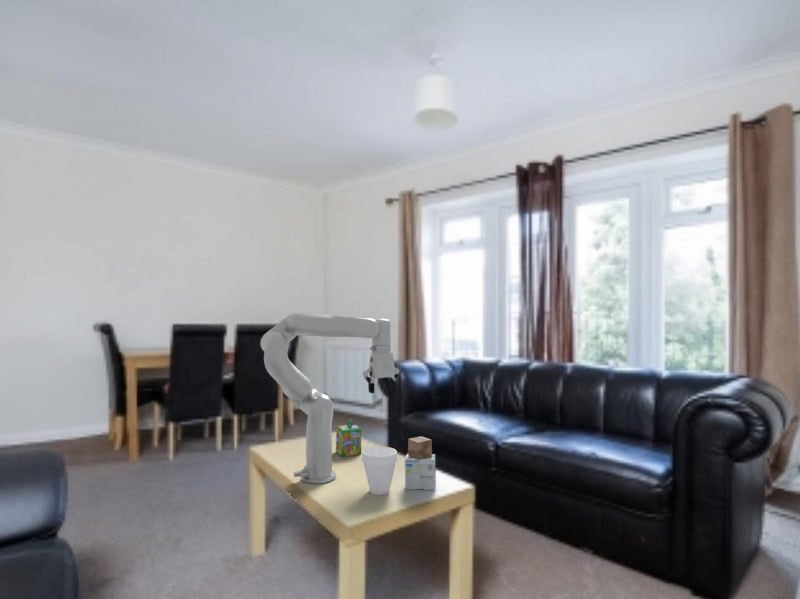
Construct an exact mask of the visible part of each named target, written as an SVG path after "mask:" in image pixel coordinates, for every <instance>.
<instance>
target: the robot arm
mask: <svg viewBox="0 0 800 599" xmlns="http://www.w3.org/2000/svg"><path fill="white" fill-rule="evenodd" d="M297 336H305V337H306V336H307V337H324V338H325V337H327V338H347V337H348V338H360V339H361V338H363V339H364V338H365V339H366V338H367V339H371V346H370V347H369V350H370V351H371V352H370V357H369V365H368V368H367V369H365V370H364V371H363V372H362V376H363V377H364V380H366V382H367V383H368V385H367V386H368V393H370V394H375V383H374V381H375V380H376V379H384V378H388V379H389V380H388V391H392V392H394V391H395V382H396V380H397V378H398V376H399V373H400V369H399V368H397V367H395V366H396V365H395V358H394V354H393V352H392V351H391V350H392V349H391V347H392V346H391V343H392V342H391V339H392V338H391V321H390V319H387V318H376V319H374V318H366V317H352V316H351V317H350V316H342V315H335V314H334V315H333V314H322V313H321V314H319V313H308V312H294V313H293V312H292V313H290V314H288V315H287V316H285V317H284V318H283V319H282V320H281V321H279V322H278V324H275V325H274V326H273V327H272V328H271V329H269V330H268V331H267V332H266V333H264V334H263V335H262V337H261V338H260V348H261V350H262V351H263V352H264V354H263V362H264V367H265V369H266V371H267V373H268V374H269V375H270V377H272V378H273V380H275V381H276V384H278V385H279V387H281V390H282V392H283V393H284V395H285V396H286V397H287V398H288V399H289V400H291V402H293V404H295V405H296V406H297V407H298V409H300V410H301V411H302V412H303V413H305V414H306V415H307V421H306V430H305V437H306V438H305V440H306V442H305V446H306V448H305V453H306V454H305V457H306V458H305V459H306V460H305V461H306V464H305V466H303V468H302V469H301V470H296V471H294V472H293V476H294V478H297V477H300V478H301V479H302V481H303V482H304V483H308V484H315V485H316V484H324V483H325V484H326V483H329V482H332V481H333V480H335V479H336V478H337V473H336V472H335V471H334V470H332V469H333V457H332V455H333V448H332V447H333V445H332V444H333V443H332V442H333V440H332V438H333V433H332V432H333V431H332V430H333V428H332V425H333V417H334V403H333V400H331V398H330V397H329V396H328V395H326V394H324V393H322V392H320V391H318V390H317V389H316V388H315V387H314V386H313V385H312V382H311V380H310V379H309V378H308V376H306V375H304V374H303V372H302V371H301V370H299V369H298V367H297V366H295V365H294V364H293V362H292V361H291V360H290V358H289V356H288V350H289V346H290V342H291V341H293V339H295V338H296V337H297Z"/></svg>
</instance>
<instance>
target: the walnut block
mask: <svg viewBox="0 0 800 599" xmlns="http://www.w3.org/2000/svg"><path fill="white" fill-rule="evenodd" d="M407 442H408V444H407V445H408V449H407V450H408V451H407V454H408V456H410V457H413V458H415V459H418V460H420V459H425V458H429V457H432V454H433V447H432V446H433V443H432V442H433V441H432V439H430V438H428V437H425V436H416V437H411V438H408V439H407Z"/></svg>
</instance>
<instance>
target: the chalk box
mask: <svg viewBox="0 0 800 599" xmlns="http://www.w3.org/2000/svg"><path fill="white" fill-rule="evenodd" d="M353 423H354V420H353V419H351V418H348V422H347V424H346V425H338V426H336V427H335V428H336V429H335V430H336V434H335V435H336V437H335V442H336V443H335V452H336V453H337V454H338V455H339V456H341V458H344V457H349V456H350V457H352V456H359V455H361V456H362V428H361V427H360V426H358V425H356V424H353Z"/></svg>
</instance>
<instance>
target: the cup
mask: <svg viewBox="0 0 800 599" xmlns="http://www.w3.org/2000/svg"><path fill="white" fill-rule="evenodd" d="M397 453H398V451H397V450H396V449H395V448H393V447H389V446H373V447H368V448H365V449H364V450H361V462H362V463H363V467H364V471H365V476H366V480H367V484H368V488H369V492H371V493H370V494H372V495H378V496H382V495H386V494H389V492H390V490H391V486H392V481H393V477H394V472H395V467H396V463H397V461H398V456H397Z"/></svg>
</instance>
